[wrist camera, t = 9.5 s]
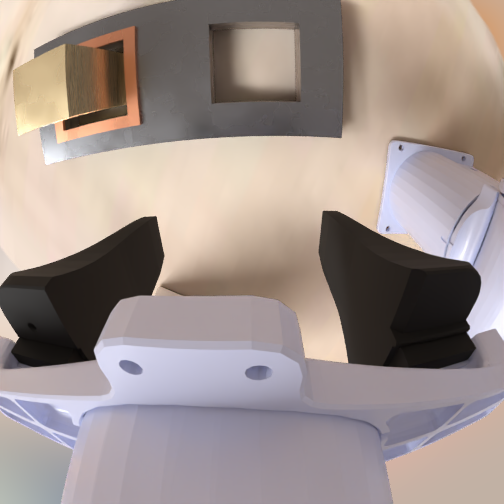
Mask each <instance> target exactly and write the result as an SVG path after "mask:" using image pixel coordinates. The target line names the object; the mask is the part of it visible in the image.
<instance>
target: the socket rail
mask: <svg viewBox="0 0 504 504" xmlns="http://www.w3.org/2000/svg"><path fill="white" fill-rule="evenodd" d="M255 28H269V29H294V32H295V72H296V101H238V102H220V103H215V88H214V63H213V31H215V30H229V29H255ZM63 44H73V45H80V46H87V47H93V48H99V49H104V50H109V51H110V50H114V49H117V48H121V47H124V72H125V88H126V100H127V111H128V115H123V116H118V117H114V118H109V119H105V120H101V121H97V122H93V123H89V124H85V125H81V126H79V118H78V117H74V118H71V119H67V120H63V121H60V122H57V123H53V124H50V125H47V126H44V127H41V128H40V135H41V142H42V147H43V153H44V158H45V163H46V165H48V164H52V163H55V162H59V161H63V160H68V159H72V158H76V157H81V156H85V155H90V154H95V153H100V152H105V151H110V150H116V149H122V148H128V147H134V146H141V145H148V144H155V143H163V142H172V141H181V140H192V139H204V138H219V137H239V136H314V137H334V138H341V137H342V115H343V36H342V16H341V1H340V0H175V1H169V2H164V3H159V4H155V5H150V6H146V7H142V8H138V9H134V10H131V11H127V12H124V13H120V14H117V15H114V16H111V17H108V18H105V19H102V20H99V21H97V22H94V23H91V24H89V25H86V26H83V27H81V28H79V29H76V30H74V31H71V32H69V33H67V34H65V35H62V36H60V37H58V38H56V39H54V40H52V41H50V42H48V43H46V44H44V45H42V46H40V47H38V48H36V49H35V50H34V58H36V57H38V56H40V55H42V54H44V53H46V52H48V51H50V50H52V49H54V48H56V47H59V46H61V45H63Z"/></svg>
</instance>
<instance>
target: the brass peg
mask: <svg viewBox="0 0 504 504" xmlns="http://www.w3.org/2000/svg"><path fill="white" fill-rule="evenodd" d="M13 87H14V102H15V113H16V122H17V129H18V136H19V135H21V134H24V133H27V132H29V131H32V130H35V129H38V128H41V127H44V126H47V125H50V124H53V123H57V122H60V121H63V120H67V119H71V118H74V117H78V116H82V115H86V114H89V113H93V112H97V111H101V110H105V109H109V108H113V107H118V106H122V105H127V100H126V88H125V72H124V53H119V52H114V51H109V50H104V49H99V48H93V47H87V46H80V45H73V44H63V45H61V46H59V47H56V48H54V49H52V50H50V51H48V52H46V53H44V54H42V55H40V56H38V57H36V58H34V59H32V60H31V61H29V62H27V63H25V64H23V65H22V66H20V67H18V68H16V69H15V70H13Z"/></svg>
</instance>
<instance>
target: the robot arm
mask: <svg viewBox="0 0 504 504" xmlns="http://www.w3.org/2000/svg"><path fill="white" fill-rule="evenodd" d="M400 145H402V148H401V150H399V146H400ZM462 157H463V159H462ZM473 163H474V157H473V156H472V155H470V154H467V153H463V152H459V151H454V150H449V149H445V148H440V147H435V146H429V145H424V144H418V143H412V142H405V141H398V140H392V141H390V143H389V146H388V156H387V164H386V172H385V180H384V187H383V194H382V200H381V206H380V212H379V217H378V223H377V231H378V232H379V233H381V234H409V235H410V236H411V237H412V238H413V239H414V240H415V242H416V243H417V244H418V245H419V246H420V247H421V248H422V250H423V251H424V252H425V253H424V252H421V251H418V250H415V249H412V248H409V247H406V246H404V245H401V244H399V243H397V242H394V241H392V240H390V239H388V238H386V237H383V236H382V235H380V234H378V233H376V232H374V231H372V230H370V229H369V228H367V227H365V226H363V225H362V224H360V223H358V222H356V221H355V220H353V219H351V218H350V217H348V216H346V215H344V214H342V213H340V212H338V211H323V214H322V225H321V235H320V244H319V256H320V261H321V265H322V269H323V272H324V275H325V277H326V280H327V283H328V285H329V288H330V290H331V293H332V296H333V298H334V301H335V304H336V306H337V309H338V312H339V316H340V320H341V324H342V329H343V334H344V339H345V344H346V350H347V356H348V363H341V362H332V361H325V360H317V359H310V358H305V354H304V348H303V343H302V337H301V331H300V327H299V323H298V319H297V316H296V313H295V312H294V311H293V310H291V309H290V308H288V307H287V306H286V305H284V304H283V303H282V302H280V301H279V300H276V299H270V298H264V297H258V296H252V295H241V296H151V295H152V293H153V290H154V288H155V285H156V283H157V280H158V278H159V275H160V272H161V268H162V264H163V260H164V252H163V247H162V242H161V237H160V232H159V227H158V222H157V217H156V216H153V217H143V218H140V219H138V220H136V221H134V222H132V223H130V224H129V225H127V226H125V227H123V228H122V229H120V230H118V231H117V232H115V233H114V234H112V235H110V236H108V237H107V238H105V239H103V240H101V241H100V242H98V243H96V244H94V245H92V246H91V247H89V248H87V249H84V250H82V251H80V252H78V253H76V254H74V255H71V256H68V257H66V258H64V259H61V260H59V261H56V262H53V263H50V264H47V265H43V266H40V267H36V268H32V269H28V270H23V271H19V272H14V273H12V274H10V275H9V277H8V278H7V279H6V280H5V281H4V283H3V284H2V285H1V286H0V307H1V309H2V311H3V313H4V315H5V316H6V318H7V320H8V321H9V323H10V324H11V326H12V328H13V329H14V330H15V332H16V333H17V335H18V337H19V339H18V340H17V342H16V343H15V342H13V341H12V340H10V339H8V338H5V337H1V336H0V411H1V412H2V413H3V414H4V415H5V416H7V417H8V418H10V419H12V420H14V421H16V422H18V423H20V424H22V425H23V426H25V427H28V428H29V429H31V430H33V431H35V432H37V433H39V434H41V435H43V436H45V437H47V438H49V439H51V440H53V441H55V442H57V443H60V444H62V445H64V446H66V447H69V448H71V449H73V453H72V457H71V461H70V465H69V469H68V473H67V477H66V482H65V486H64V491H63V496H62V501H61V504H393V500H392V494H391V489H390V484H389V479H388V475H387V469H386V464H385V462H386V461H389V460H392V459H394V458H397V457H400V456H402V455H405V454H408V453H411V452H413V451H415V450H418V449H420V448H422V447H425V446H427V445H429V444H431V443H434V442H436V441H438V440H440V439H443V438H444V437H447V436H449V435H451V434H453V433H455V432H457V431H459V430H461V429H463V428H465V427H467V426H469V425H471V424H473V423H474V422H476V421H478V420H480V419H482V418H484V417H486V416H487V415H488V414H490V413H491V412H492V411H493V410H494V409H495V408H496V407H497V406H498V405H499V404H500V403H501V402H502V401H503V400H504V178H503V179H501V181H500V182H499V181H497V180H495V179H494V178H492V177H490V176H488V175H487V174H485V173H483V172H481V171H480V170H478V169H476V168H474V167H473ZM387 226H389V228H388V229H386V227H387Z"/></svg>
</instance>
